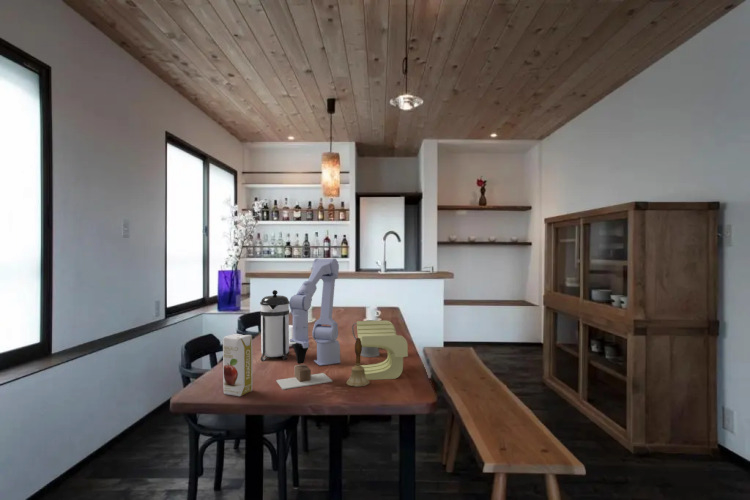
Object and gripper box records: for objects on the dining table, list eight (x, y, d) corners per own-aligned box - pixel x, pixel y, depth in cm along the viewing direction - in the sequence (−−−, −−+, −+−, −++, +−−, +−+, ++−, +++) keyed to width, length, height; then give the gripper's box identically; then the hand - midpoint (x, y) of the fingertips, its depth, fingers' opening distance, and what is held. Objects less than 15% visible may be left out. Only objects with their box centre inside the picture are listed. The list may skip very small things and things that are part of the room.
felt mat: (323, 374, 152) (323, 372, 152) (332, 381, 143) (332, 380, 143) (276, 381, 144) (276, 380, 144) (282, 389, 135) (282, 388, 135)
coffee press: (300, 356, 178) (300, 289, 178) (270, 363, 166) (270, 292, 166) (278, 349, 189) (278, 287, 189) (248, 356, 177) (248, 290, 177)
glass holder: (373, 358, 174) (372, 324, 174) (347, 353, 181) (346, 321, 181) (383, 353, 181) (383, 321, 181) (357, 349, 189) (357, 318, 189)
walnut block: (305, 364, 149) (310, 369, 143) (305, 375, 149) (310, 380, 143) (294, 365, 147) (299, 370, 141) (294, 376, 147) (299, 382, 141)
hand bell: (357, 377, 147) (357, 334, 147) (374, 382, 142) (374, 337, 142) (341, 383, 141) (341, 338, 141) (358, 388, 135) (358, 342, 135)
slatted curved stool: (407, 386, 137) (407, 335, 138) (362, 388, 136) (362, 336, 136) (394, 362, 167) (394, 320, 167) (357, 363, 166) (356, 321, 166)
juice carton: (235, 387, 138) (235, 332, 138) (255, 390, 134) (255, 334, 134) (219, 394, 131) (219, 337, 131) (240, 398, 127) (240, 339, 127)
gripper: (285, 324, 152) (285, 359, 152) (295, 331, 139) (295, 369, 139) (302, 323, 155) (303, 357, 155) (314, 329, 142) (314, 367, 142)
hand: (300, 363), depth 147 cm, fingers closed
